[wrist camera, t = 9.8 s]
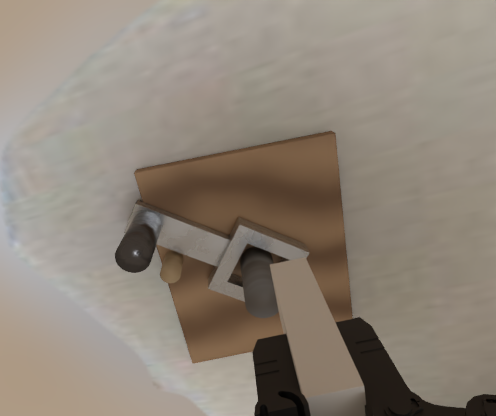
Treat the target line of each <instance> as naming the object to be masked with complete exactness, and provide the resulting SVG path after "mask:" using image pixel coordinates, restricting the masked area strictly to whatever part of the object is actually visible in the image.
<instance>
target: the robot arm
mask: <svg viewBox="0 0 496 416" xmlns="http://www.w3.org/2000/svg"><path fill="white" fill-rule="evenodd" d="M270 269H271V275H272V280H273V285H274V290H275V295H276V300H277V305H278V310H279V315H280V320H281V324H282V328H283V332H284V334H282V335H277V336H272V337H267V338H262V339H257V342H256V344H255V347H254V349H253V360H254V368H255V376H256V385H257V394H258V402H257V404H256V406H255V414H254V415H255V416H496V395H488V394H483V395H479V396H475V397H473V398H472V399H471V400H470V401H468V402H467V406H466V408H456V407H445V406H439V405H434V404H431V403H428V402H426V401H424V400H422V399H421V398H420V397H419V396H418V395H416V394H415V393H413V392H411V391H410V389H409V388H408V387H407V385H406V384H405V382H404V380H403V379H402V377H401V375H400V374H399V372H398V370H397V369H396V367H395V365H394V363H393V362H392V360H391V358H390V357H389V355H388V353H387V352H386V350H385V349H384V347H383V345H382V343H381V341H380V340H379V339H378V336H377V335H376V333H375V331H374V330H373V328H372V326H371V325H369V324H368V323H367V322H365V321H364V320H362V319H361V318H360V317H359V318H354V319H349V320H344V321H339V322H335V321H334V319H333V316H332V314H331V312H330V310H329V308H328V305H327V303H326V301H325V299H324V297H323V294H322V292H321V290H320V288H319V286H318V283H317V281H316V279H315V277H314V275H313V273H312V270H311V268H310V266H309V264H308V262H307V259H306V257H304V258H299V259H294V260H290V261H285V262H280V263H275V264H270Z"/></svg>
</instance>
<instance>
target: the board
mask: <svg viewBox="0 0 496 416" xmlns="http://www.w3.org/2000/svg"><path fill="white" fill-rule="evenodd" d="M134 174H135V178H136V181H137V184H138V187H139V191H140V194H141V197H142V200H143V202H144V203H147V204H150V205H152V206H155V207H157V208H160V209H162V210H165V211H167V212H170V213H173V214H175V215H178V216H180V217H183V218H185V219H188V220H190V221H193V222H196V223H198V224H201V225H203V226H206V227H208V228H211V229H214V230H216V231H219V232H221V233H224V234H226V235H230V233H231V231H232V229H233V227H234V225H235V223H236V221H237V219H238V217H240V218H242V219H245V220H247V221H250V222H252V223H255V224H257V225H260V226H262V227H265V228H267V229H269V230H272V231H274V232H277V233H279V234H282V235H284V236H287V237H289V238H292V239H294V240H297V241H299V242H302V243H304V244H306V246H307V248H308V250H309V252H310V253H309V255H308V256H307V258H306V259H307V262H308V264H309V266H310V268H311V270H312V273H313V275H314V277H315V279H316V281H317V283H318V286H319V288H320V290H321V292H322V294H323V297H324V299H325V301H326V303H327V305H328V308H329V310H330V312H331V314H332V316H333V319H334V321H335V322H339V321H344V320H349V319H353V318H352V308H351V297H350V286H349V275H348V265H347V254H346V243H345V232H344V222H343V211H342V200H341V189H340V178H339V168H338V157H337V146H336V135H335V133H334V132H332V131H329V132H324V133H319V134H314V135H309V136H304V137H299V138H294V139H289V140H284V141H278V142H273V143H268V144H263V145H258V146H253V147H248V148H243V149H238V150H233V151H228V152H223V153H218V154H213V155H208V156H203V157H197V158H192V159H187V160H182V161H177V162H172V163H167V164H162V165H157V166H152V167H147V168H142V169H137V170H136V171H135V173H134ZM156 246H157V249H158V252H159V255H160V259H161V262H162V268H161V272H160V276H161V279H162V280H163V281H165V282H166V283H168V285H169V288H170V291H171V294H172V298H173V301H174V304H175V307H176V311H177V314H178V317H179V320H180V324H181V327H182V330H183V333H184V337H185V340H186V343H187V346H188V350H189V353H190V356H191V359H192V363H198V362H203V361H208V360H212V359H217V358H222V357H227V356H232V355H237V354H242V353H247V352H252V351H253V349H254V347H255V344H256V342H257V339H262V338H267V337H272V336H277V335H282V334H284V332H283V328H282V324H281V320H280V315H279V310H278V305H277V300H276V295H275V290H274V285H273V280H272V275H271V269H270V264H275V263H280V261H281V259H282V258H283V257H281V256H279V255H276V254H273V253H271V252H268V251H266V250H263V249H261V248H258V247H255V246H253V245H250V244H248V243H247V245H246V246H245V248H244V250H243V252H242V254H241V256H240V258H239V260H238V262H237V264H236V266H235V268H234V270H233V272H232V274H234V275H237V276H239V277H242V282H243V290H244V299H245V302H244V301H241V300H238V299H236V298H233V297H230V296H227V295H224V294H221V293H218V292H216V291H213V290H210V289H208V278H209V276H210V274H211V272H212V270H213V268H214V265H211V264H208V263H206V262H203V261H200V260H198V259H195V258H192V257H189V256H187V255H184V254H181V253H179V252H176V251H173V250H170V249H168V248H165V247H162V246H160V245H157V244H156Z"/></svg>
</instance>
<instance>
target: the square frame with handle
mask: <svg viewBox="0 0 496 416" xmlns="http://www.w3.org/2000/svg"><path fill="white" fill-rule="evenodd" d="M124 233H126V234H125V235H124V237H123V239H122V241H121V243H120V245H119V247H118V248H117V250H116V253H115V259H116V262H117V264H118V265H119V266H120V267H121V268H122V269H123V270H125V271H128V272H132V273H136V272H141V271H143V270H145V269H146V268H147V267H148V266H149V264H150V262H151V259H152V256H153V253H154V250H155V247H156V244H157V245H160V246H162V247H165V248H168V249H170V250H173V251H176V252H179V253H181V254H184V255H187V256H189V257H192V258H195V259H198V260H200V261H203V262H206V263H208V264H211V265H214V268H213V270H212V272H211V274H210V276H209V278H208V289H210V290H213V291H216V292H218V293H221V294H224V295H227V296H230V297H233V298H236V299H238V300H241V301H244V302H245V299H244V290H243V282H242V277H239V276H237V275H234V274H232V272H233V270H234V268H235V266H236V264H237V262H238V260H239V258H240V256H241V254H242V252H243V250H244V248H245V246H246V245H247V243H248V244H250V245H253V246H255V247H258V248H261V249H263V250H266V251H268V252H271V253H273V254H276V255H279V256H281V257H283V258H282V259H281V261H280V262H285V261H290V260H294V259H299V258H304V257H306V258H307V256H308V255H309V253H310V252H309V250H308V248H307V246H306V244H304V243H302V242H299V241H297V240H294V239H292V238H289V237H287V236H284V235H282V234H279V233H277V232H274V231H272V230H269V229H267V228H265V227H262V226H260V225H257V224H255V223H252V222H250V221H247V220H245V219H242V218H240V217H238V219H237V221H236V223H235V225H234V227H233V229H232V231H231V233H230V235H226V234H224V233H221V232H219V231H216V230H214V229H211V228H208V227H206V226H203V225H201V224H198V223H196V222H193V221H190V220H188V219H185V218H183V217H180V216H178V215H175V214H173V213H170V212H167V211H165V210H162V209H160V208H157V207H155V206H152V205H150V204H147V203H144V202H142V201H139V200H137V202H136V204H135V206H134V209H133V212H132V214H131V217H130V219H129V222H128V224H127V227H126V229H125V232H124Z"/></svg>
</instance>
